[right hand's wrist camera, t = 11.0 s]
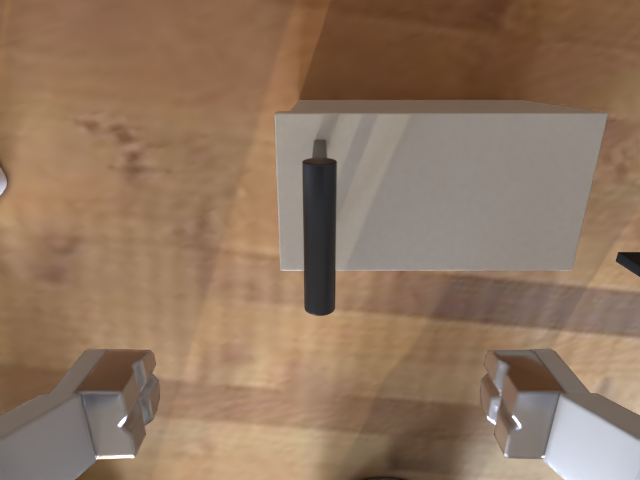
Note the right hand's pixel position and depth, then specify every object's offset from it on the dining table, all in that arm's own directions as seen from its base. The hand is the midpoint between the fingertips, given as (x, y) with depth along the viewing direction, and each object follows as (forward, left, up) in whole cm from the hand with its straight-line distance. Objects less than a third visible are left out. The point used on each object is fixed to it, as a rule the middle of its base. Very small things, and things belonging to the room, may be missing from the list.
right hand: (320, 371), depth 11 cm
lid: (+4, -6, -17) cm, 18 cm away
